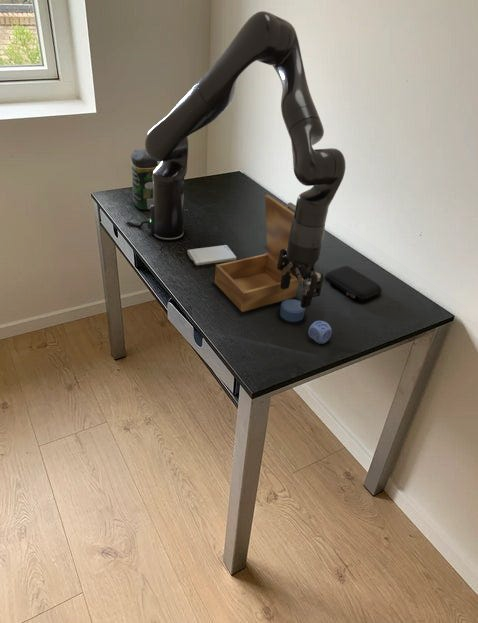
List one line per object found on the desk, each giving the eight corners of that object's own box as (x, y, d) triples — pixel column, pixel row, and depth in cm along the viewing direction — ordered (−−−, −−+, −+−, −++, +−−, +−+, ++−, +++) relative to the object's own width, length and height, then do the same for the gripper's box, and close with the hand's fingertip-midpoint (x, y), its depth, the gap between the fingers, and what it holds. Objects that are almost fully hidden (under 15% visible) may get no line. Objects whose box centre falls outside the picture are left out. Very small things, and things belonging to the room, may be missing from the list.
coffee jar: (130, 201, 170) (127, 148, 159) (151, 198, 173) (150, 146, 162) (139, 212, 163) (137, 158, 152) (161, 209, 166) (160, 156, 155)
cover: (298, 218, 113) (316, 212, 115) (265, 195, 123) (281, 189, 124) (297, 278, 124) (313, 271, 126) (267, 252, 134) (281, 246, 136)
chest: (241, 314, 121) (244, 293, 117) (214, 285, 131) (215, 264, 127) (295, 299, 128) (298, 279, 125) (265, 272, 138) (268, 253, 134)
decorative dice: (317, 331, 118) (320, 318, 115) (330, 340, 115) (333, 326, 113) (306, 337, 115) (309, 324, 113) (319, 346, 113) (322, 332, 111)
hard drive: (226, 244, 147) (187, 248, 142) (236, 257, 141) (196, 262, 136) (226, 249, 147) (187, 253, 143) (236, 262, 142) (196, 267, 137)
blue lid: (277, 321, 120) (279, 309, 118) (281, 307, 125) (283, 296, 122) (301, 326, 119) (303, 314, 117) (304, 312, 124) (306, 301, 122)
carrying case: (318, 280, 137) (357, 306, 128) (320, 271, 135) (360, 297, 126) (344, 271, 142) (383, 295, 133) (346, 262, 141) (386, 286, 132)
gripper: (274, 227, 112) (265, 285, 121) (311, 256, 102) (299, 317, 112) (300, 222, 115) (290, 279, 125) (338, 250, 106) (324, 309, 115)
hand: (294, 297), depth 118 cm, fingers open, 8 cm apart
